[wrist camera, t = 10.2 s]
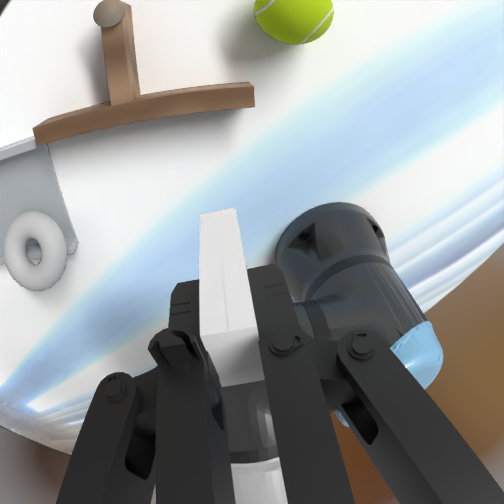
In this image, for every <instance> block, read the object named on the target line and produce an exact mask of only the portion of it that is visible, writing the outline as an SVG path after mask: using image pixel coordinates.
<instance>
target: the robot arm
mask: <svg viewBox="0 0 504 504" xmlns="http://www.w3.org/2000/svg"><path fill="white" fill-rule="evenodd" d="M289 292H290V293H291V295H292V296H293V297H294V298H295V299H296V300H297V301H298V302H296V303H293V302H292V299H291V296H290V293H289ZM170 306H171V307H170V316H169V327H168V328H167V329H163V330H162V331H160V332H159V333H157V334H156V335H155V336H154V337H153V338H152V340H151V341H150V343H149V346H148V350H149V352H150V353H151V355H152V357H153V358H154V360H155V361H156V363H157V364H158V366H157V367H155V368H154V369H152V370H150V371H149V372H146V373H144V374H141V375H139V376H137V377H134V378H132V377H131V376H130V375H129V374H126V373H123V372H116V373H113V374H110V375H108V376H106V377H105V378H104V379H103V380H102V381H101V382H100V384H99V385H98V387H97V389H96V392H95V394H94V397H93V399H92V402H91V404H90V407H89V409H88V412H87V414H86V417H85V420H84V422H83V425H82V427H81V430H80V433H79V435H78V438H77V441H76V444H75V447H74V449H73V452H72V455H71V458H70V461H69V464H68V467H67V470H66V473H65V476H64V479H63V482H62V485H61V488H60V492H59V495H58V498H57V501H56V504H150V503H151V499H152V495H153V490H154V486H155V482H156V504H355V502H354V498H353V494H352V490H351V487H350V483H349V480H348V476H347V472H346V469H345V465H344V462H343V458H342V454H341V451H340V447H339V444H338V441H337V437H336V434H335V430H334V427H333V423H332V420H331V417H330V414H332V413H337V417H338V420H340V421H341V422H342V424H343V425H345V426H347V427H350V428H351V430H352V431H353V433H354V434H355V436H356V437H357V439H358V440H359V442H360V444H361V445H362V447H363V448H364V450H365V451H366V453H367V454H368V456H369V457H370V459H371V460H372V462H373V463H374V465H375V466H376V468H377V470H378V471H379V473H380V474H381V476H382V477H383V479H384V480H385V482H386V483H387V485H388V486H389V488H390V489H391V491H392V492H393V493H394V495H395V497H396V498H397V500H398V501H399V503H400V504H504V492H503V491H502V489H501V488H500V487H499V485H498V484H497V482H496V481H495V480H494V478H493V477H492V475H491V474H490V473H489V471H488V470H487V469H486V467H485V466H484V465H483V463H482V462H481V461H480V459H479V458H478V457H477V455H476V454H475V453H474V452H473V450H472V449H471V448H470V447H469V445H468V444H467V443H466V441H465V440H464V439H463V437H462V436H461V435H460V433H459V432H458V431H457V430H456V429H455V427H454V426H453V425H452V423H451V422H450V421H449V420H448V418H447V417H446V416H445V414H444V413H443V412H442V411H441V409H440V408H439V407H438V406H437V404H436V403H435V402H434V401H433V400H432V398H431V397H430V396H429V395H428V393H427V392H426V391H425V389H426V388H427V387H428V386H429V385H430V384H431V382H432V381H433V380H434V378H435V377H436V376H437V374H438V372H439V370H440V368H441V366H442V362H443V351H442V348H441V346H440V344H439V342H438V340H437V338H436V335H435V333H434V331H433V327H432V324H431V323H430V322H428V320H427V318H426V317H425V315H424V314H423V312H422V311H421V309H420V307H419V306H418V304H417V303H416V301H415V300H414V298H413V297H412V295H411V294H410V292H409V291H408V289H407V288H406V286H405V285H404V283H403V282H402V280H401V279H400V278H399V276H398V275H397V273H396V272H395V270H394V269H393V267H392V266H391V264H390V260H389V256H388V251H387V246H386V242H385V237H384V234H383V232H382V230H381V228H380V226H379V225H378V223H377V222H376V221H375V219H374V218H373V217H372V216H371V215H370V214H369V213H368V212H367V211H366V210H365V209H363V208H361V207H359V206H357V205H354V204H350V203H341V202H338V203H329V204H324V205H321V206H318V207H315V208H313V209H311V210H309V211H307V212H305V213H304V214H302V215H301V216H299V217H298V218H297V219H296V220H295V221H293V222H292V223H291V224H290V226H289V227H288V228H287V229H286V230H285V232H284V233H283V235H282V237H281V239H280V241H279V243H278V246H277V250H276V265H275V264H271V265H266V266H261V267H256V268H251V269H247V265H246V260H245V255H244V250H243V245H242V240H241V235H240V230H239V225H238V220H237V214H236V209H235V207H234V208H229V209H224V210H219V211H214V212H209V213H204V214H200V259H199V279H198V280H192V281H187V282H182V283H177V285H176V287H175V288H174V290H173V292H172V293H171V302H170Z"/></svg>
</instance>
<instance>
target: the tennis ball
mask: <svg viewBox="0 0 504 504" xmlns="http://www.w3.org/2000/svg"><path fill="white" fill-rule="evenodd" d="M254 13H255V17H256V20H257V22H258V24H259V25H260V27H261V28H262V29H263V30H264V31H265V32H266V33H267V34H268V35H269V36H271V37H272V38H274V39H276V40H278V41H281V42H284V43H288V44H305V43H309V42H312V41H314V40H316V39H317V38H319V37H320V36H322V35H323V34H324V33H325V32H326V31H327V29H328V28H329V26H330V25H331V22H332V19H333V14H334V10H333V4H332V1H331V0H256V1H255V6H254Z"/></svg>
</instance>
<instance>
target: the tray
mask: <svg viewBox="0 0 504 504" xmlns="http://www.w3.org/2000/svg"><path fill="white" fill-rule="evenodd" d="M28 211H39V212H41V213H44V214H47V215H48V216H50V217H51V218H52V219H53V220H54V221H55V222H56V223H57V224H58V226H59V228H60V229H61V231H62V232H63V235H64V238H65V241H66V247H67V254H73V252H74V250H75V248H76V246H77V244H78V239H77V237H76V234H75V231H74V229H73V226H72V223H71V220H70V217H69V215H68V212H67V209H66V206H65V203H64V200H63V197H62V194H61V191H60V187H59V184H58V181H57V177H56V174H55V171H54V167H53V164H52V160H51V156H50V153H49V149H48V145H47V143H46V144H42V145H39V146H37V144H36V141H35V136H33V137H30V138H27V139H24V140H21V141H18V142H16V143H13V144H10V145H7V146H5V147H2V148H0V264H4V263H5V260H4V252H3V244H4V237H5V234H6V232H7V229H8V227H9V225H10V224H11V223H12V222H13V220H14V219H15V218H16V217H17V216H19V215H21V214H23V213H25V212H28ZM26 254H27V257H28V259H29V260H31V259H38V258H42V250H41V247H40V244H39V243H38V241H37V240H36V239H33V238H30V239H29V240H28V241H27V244H26Z"/></svg>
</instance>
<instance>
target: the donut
mask: <svg viewBox="0 0 504 504" xmlns="http://www.w3.org/2000/svg"><path fill="white" fill-rule="evenodd" d="M30 238H33V239H36V240H37V241H38V243H39V244H40V247H41V250H42V258H41V261H40V263H39V264H37V265H35V264H33V263H32V262H30V260H29V259H28V257H27V254H26V244H27V241H28V240H29V239H30ZM3 252H4V260H5V263H6V266H7V269H8V271H9V273H10V274H11V276H12V277H13V279H14V280H15V281H16V282H17V283H18V284H19V285H20V286H22V287H24V288H26V289H29V290H31V291H43V290H46V289H49V288H51V287H52V286H53V285H54V284H55V283H56V282H57V281H59V279H60V278H61V276H62V274H63V272H64V270H65V266H66V260H67V247H66V241H65V238H64V235H63V232H62V231H61V229H60V228H59V226H58V224H57V223H56V222H55V221H54V220H53V219H52V218H51V217H50V216H48V215H47V214H44V213H41V212H39V211H28V212H25V213H23V214H21V215H19V216H17V217H16V218H15V219H14V220H13V222H12V223H11V224H10V225H9V227H8V229H7V232H6V234H5V237H4V244H3Z"/></svg>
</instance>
